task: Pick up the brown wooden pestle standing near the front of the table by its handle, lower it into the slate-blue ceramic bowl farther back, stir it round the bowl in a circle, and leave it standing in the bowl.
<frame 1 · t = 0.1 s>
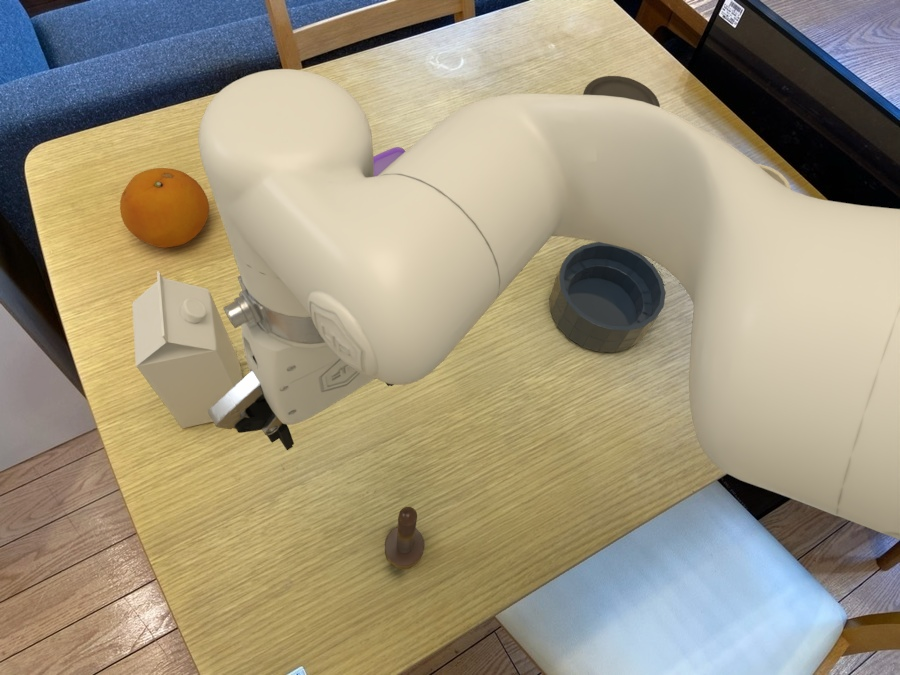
hand: (333, 402, 51), 19 cm above the table, tool pointing down, fingers open, 9 cm apart
spatula: (425, 220, 88), on the table
coffee can: (591, 178, 95), on the table
brown wooden pestle: (404, 549, 65), on the table
character mug: (716, 249, 90), on the table
milk carton: (212, 395, 72), on the table
bowl: (598, 310, 82), on the table
fruit: (174, 227, 83), on the table
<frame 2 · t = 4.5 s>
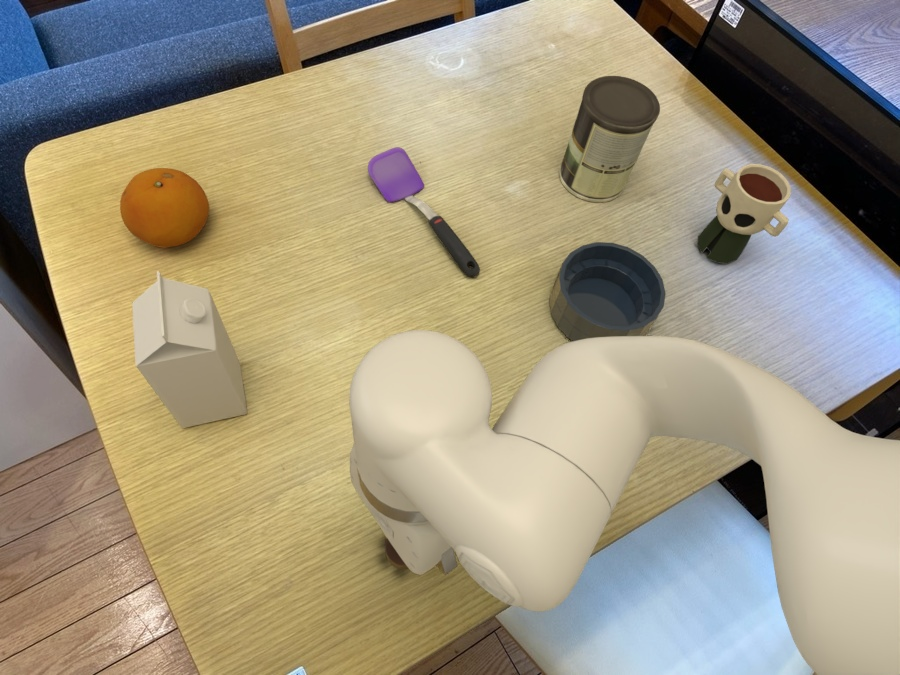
hand: (406, 529, 58), 9 cm above the table, tool pointing down, fingers closed on brown wooden pestle
brown wooden pestle: (404, 549, 65), on the table, touching gripper
everything else where it was.
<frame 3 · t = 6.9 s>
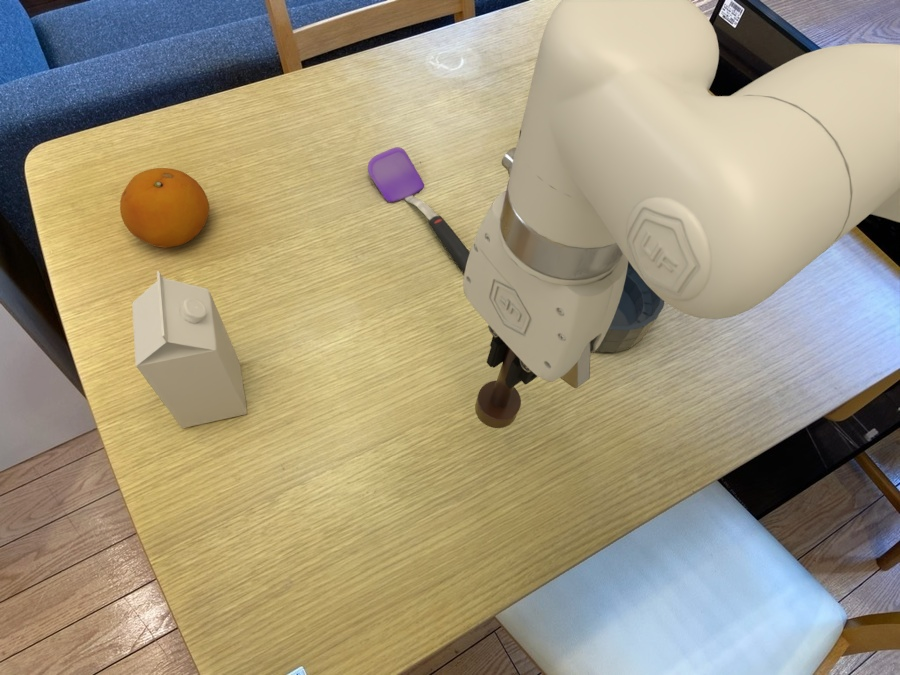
hand: (512, 366, 52), 22 cm above the table, tool pointing down, fingers closed on brown wooden pestle
brown wooden pestle: (496, 408, 59), point 14 cm above the table, touching gripper
everything else where it was.
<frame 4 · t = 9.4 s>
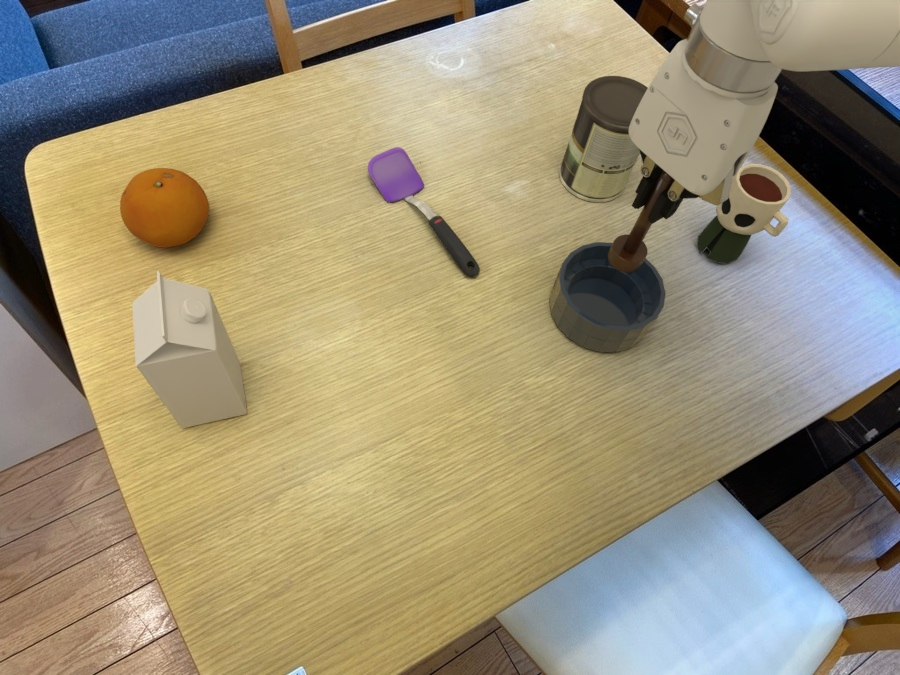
hand: (651, 208, 65), 20 cm above the table, tool pointing down, fingers closed on brown wooden pestle
brown wooden pestle: (624, 258, 73), point 11 cm above the table, touching gripper
everything else where it was.
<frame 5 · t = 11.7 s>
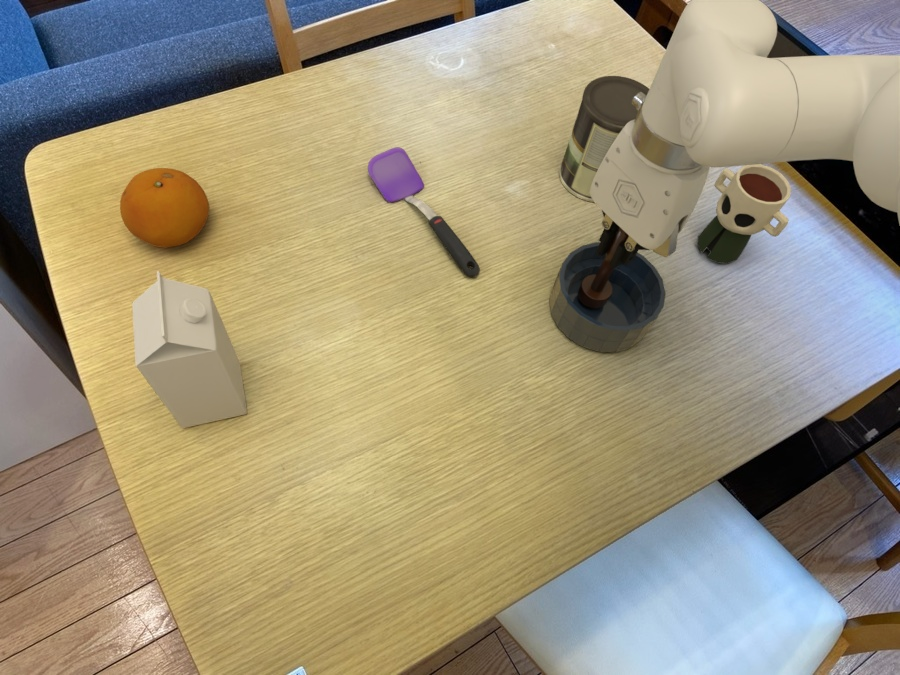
hand: (613, 255, 74), 10 cm above the table, tool pointing down, fingers closed on brown wooden pestle
brown wooden pestle: (592, 295, 81), point 2 cm above the table, touching gripper
everything else where it was.
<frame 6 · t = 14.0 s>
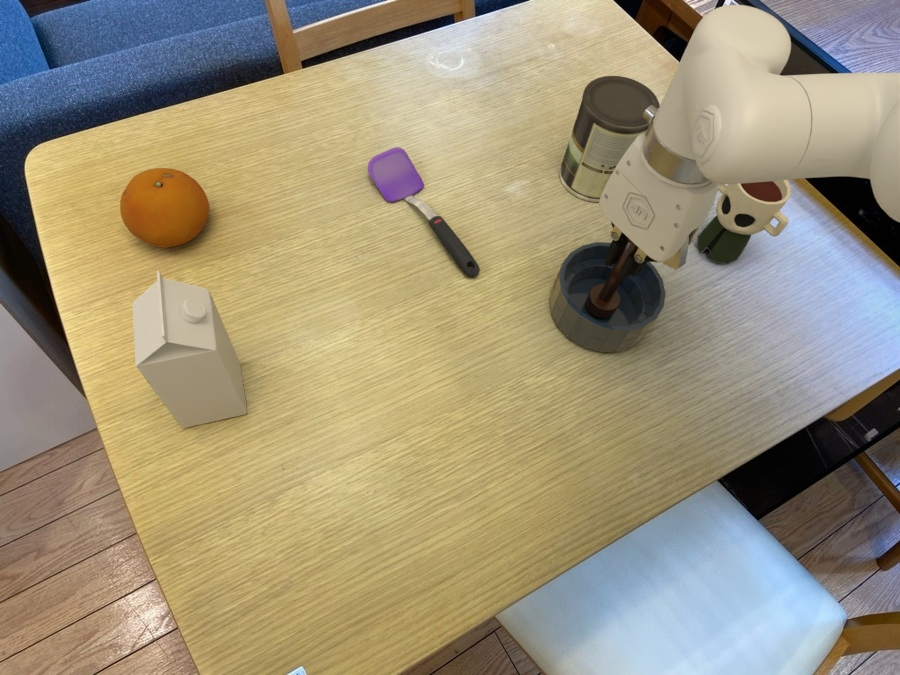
hand: (621, 265, 74), 10 cm above the table, tool pointing down, fingers closed on brown wooden pestle
brown wooden pestle: (600, 305, 81), point 1 cm above the table, touching gripper
everything else where it was.
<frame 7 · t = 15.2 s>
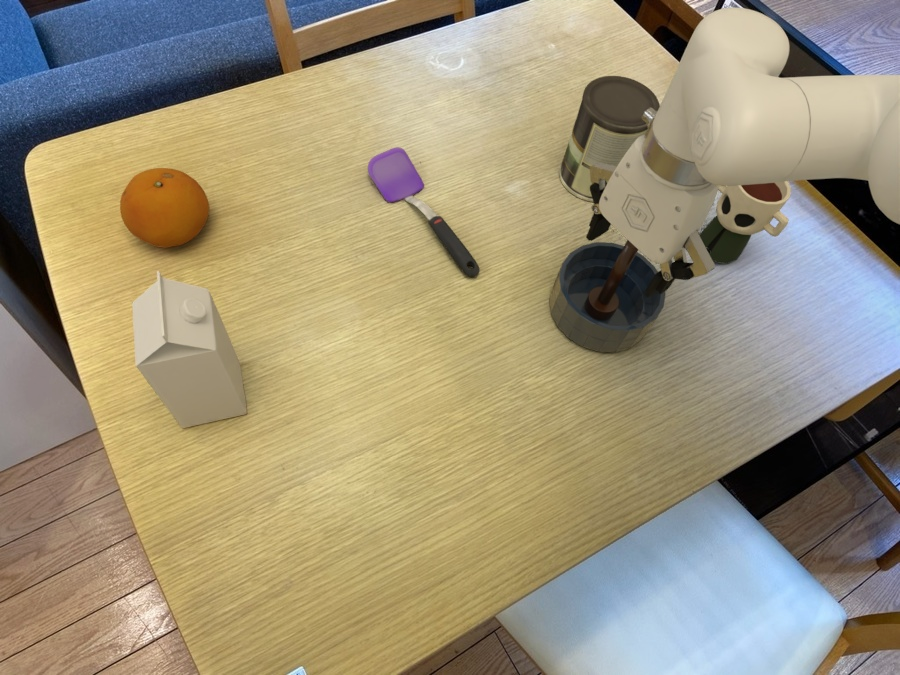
hand: (624, 261, 73), 11 cm above the table, tool pointing down, fingers open, 9 cm apart
brown wooden pestle: (599, 307, 82), point 1 cm above the table, touching bowl
everything else where it was.
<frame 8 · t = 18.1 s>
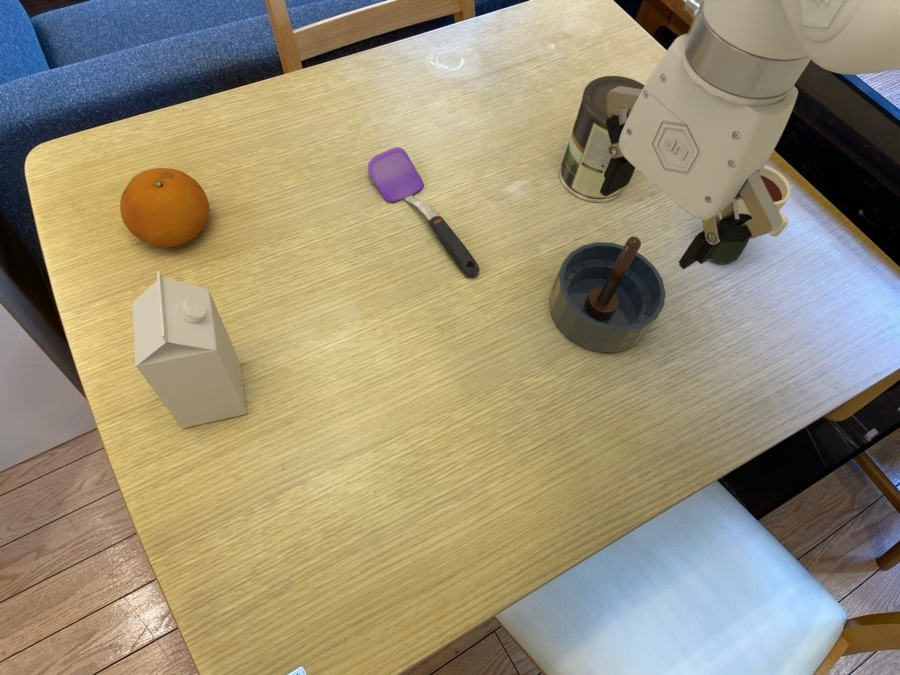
hand: (651, 223, 55), 26 cm above the table, tool pointing down, fingers open, 9 cm apart
nothing on the table moved.
at the end: brown wooden pestle 0.1 cm off-centre in the bowl, point 0.6 cm above the bowl's base; brown wooden pestle tilted 0°; brown wooden pestle moved 39.3 cm from its start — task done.
